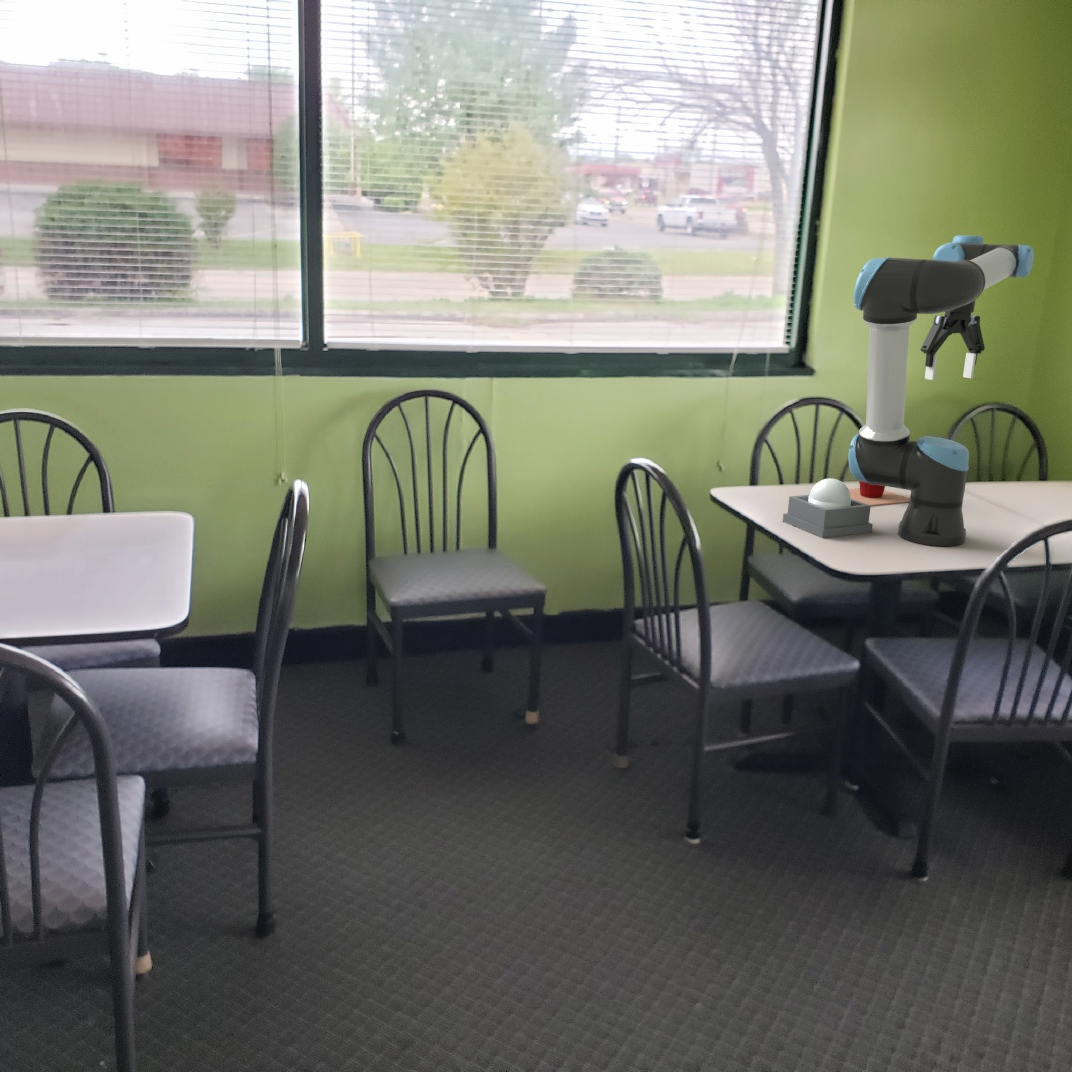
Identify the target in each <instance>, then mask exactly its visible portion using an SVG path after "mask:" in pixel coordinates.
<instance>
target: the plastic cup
mask: <svg viewBox="0 0 1072 1072" xmlns="http://www.w3.org/2000/svg"><path fill="white" fill-rule="evenodd" d="M858 484H859V488H860V495H861V496H863V497H867V498H881V497H882V495H883V492H884V490H886V489H885V488H886V486H882V485H872V484H869V483H866V482H862V481H859V480H858Z"/></svg>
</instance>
